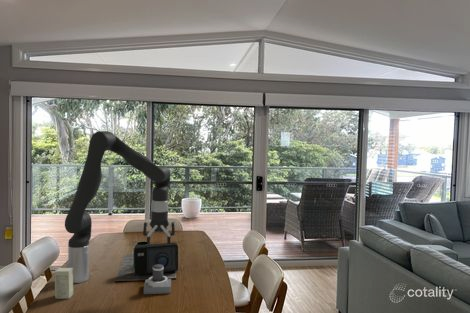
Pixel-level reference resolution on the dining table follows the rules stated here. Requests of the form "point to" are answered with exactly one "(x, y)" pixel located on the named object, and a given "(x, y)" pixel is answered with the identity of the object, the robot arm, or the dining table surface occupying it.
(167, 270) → the camera
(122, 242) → the dining table surface
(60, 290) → the skincare box
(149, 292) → the mount block
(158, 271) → the lens
